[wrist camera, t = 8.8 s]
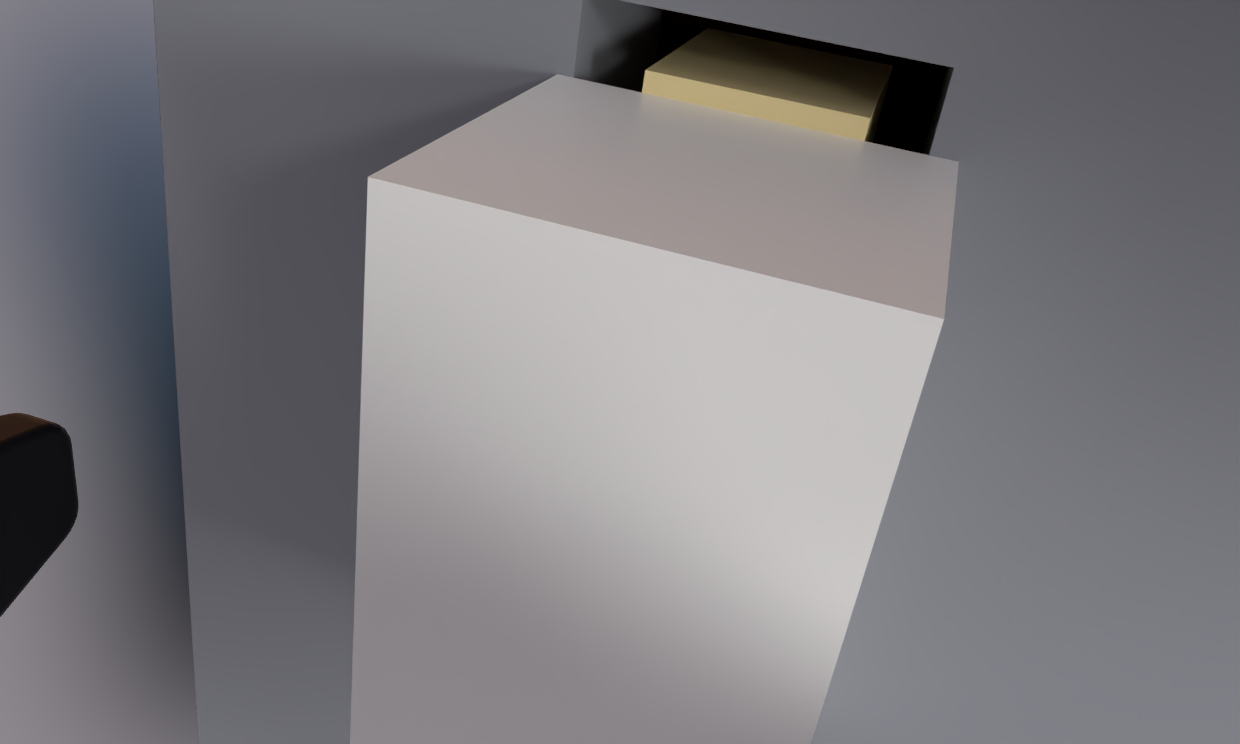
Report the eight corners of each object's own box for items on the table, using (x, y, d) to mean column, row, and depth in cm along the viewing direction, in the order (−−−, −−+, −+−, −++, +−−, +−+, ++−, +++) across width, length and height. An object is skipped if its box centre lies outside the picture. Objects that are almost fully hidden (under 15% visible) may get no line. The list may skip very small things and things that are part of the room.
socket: (1830, -731, 8) (2315, -1059, 5) (987, 980, 17) (987, 1205, 14) (320, -809, 10) (58, -1061, 7) (309, 734, 20) (193, 886, 17)
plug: (970, 81, 11) (953, 285, 6) (784, 713, 15) (682, 1152, 10) (638, 14, 12) (369, 145, 7) (548, 636, 16) (341, 1009, 11)
